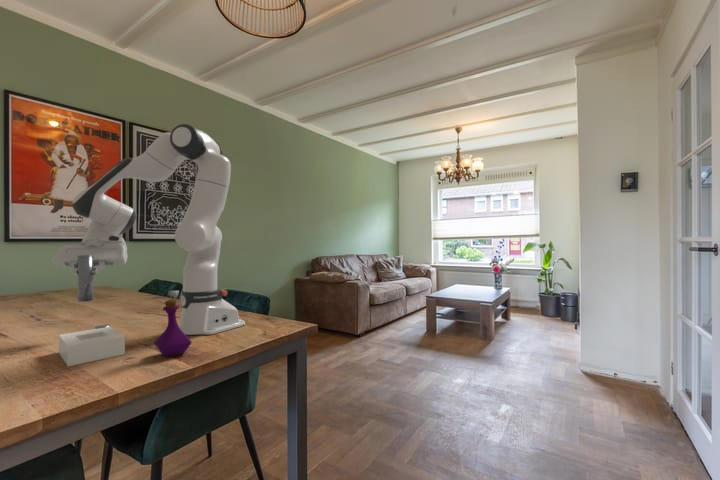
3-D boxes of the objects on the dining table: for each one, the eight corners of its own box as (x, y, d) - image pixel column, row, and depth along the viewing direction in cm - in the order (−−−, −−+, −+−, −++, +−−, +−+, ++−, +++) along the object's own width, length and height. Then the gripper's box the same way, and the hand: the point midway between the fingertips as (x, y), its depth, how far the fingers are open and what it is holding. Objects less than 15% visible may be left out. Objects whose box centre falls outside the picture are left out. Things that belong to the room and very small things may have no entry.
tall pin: (92, 299, 111) (91, 255, 111) (94, 300, 109) (94, 255, 109) (76, 300, 108) (76, 255, 108) (79, 302, 106) (78, 255, 106)
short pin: (108, 337, 108) (108, 324, 108) (112, 340, 105) (112, 326, 105) (93, 340, 105) (93, 326, 105) (96, 342, 102) (96, 328, 102)
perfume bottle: (153, 354, 92) (153, 290, 92) (182, 348, 97) (182, 287, 97) (162, 361, 87) (162, 293, 87) (191, 354, 92) (192, 290, 92)
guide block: (110, 342, 102) (110, 326, 102) (124, 354, 92) (124, 336, 92) (58, 352, 93) (58, 334, 93) (67, 366, 83) (67, 346, 83)
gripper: (58, 237, 112) (41, 268, 103) (128, 237, 118) (118, 266, 109) (65, 250, 116) (49, 281, 107) (132, 249, 123) (123, 278, 113)
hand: (84, 273), depth 108 cm, fingers closed on tall pin, 4 cm apart
